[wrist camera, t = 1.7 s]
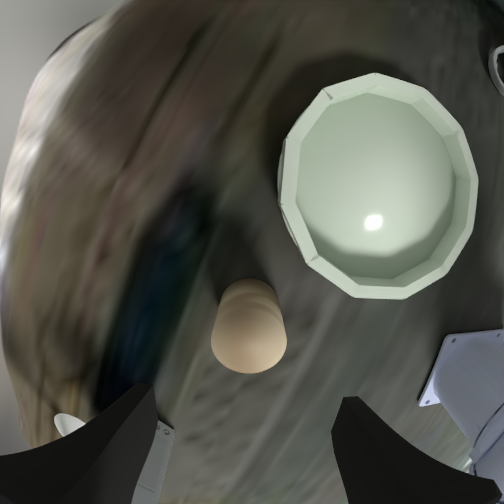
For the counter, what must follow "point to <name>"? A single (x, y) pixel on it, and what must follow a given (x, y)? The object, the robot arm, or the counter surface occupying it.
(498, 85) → the ceramic mug
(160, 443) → the skincare box
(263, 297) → the maple cylinder
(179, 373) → the counter surface
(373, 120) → the round tray
